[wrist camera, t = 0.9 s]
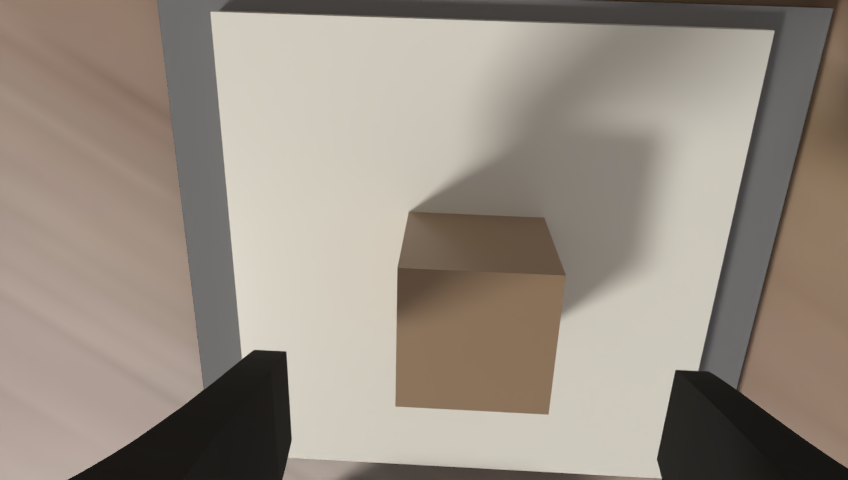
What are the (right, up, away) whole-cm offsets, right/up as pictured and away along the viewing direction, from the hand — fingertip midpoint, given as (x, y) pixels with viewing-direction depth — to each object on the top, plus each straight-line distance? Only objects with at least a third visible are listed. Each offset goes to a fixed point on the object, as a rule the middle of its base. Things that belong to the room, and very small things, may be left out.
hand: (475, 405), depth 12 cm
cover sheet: (0, +2, +6) cm, 6 cm away
